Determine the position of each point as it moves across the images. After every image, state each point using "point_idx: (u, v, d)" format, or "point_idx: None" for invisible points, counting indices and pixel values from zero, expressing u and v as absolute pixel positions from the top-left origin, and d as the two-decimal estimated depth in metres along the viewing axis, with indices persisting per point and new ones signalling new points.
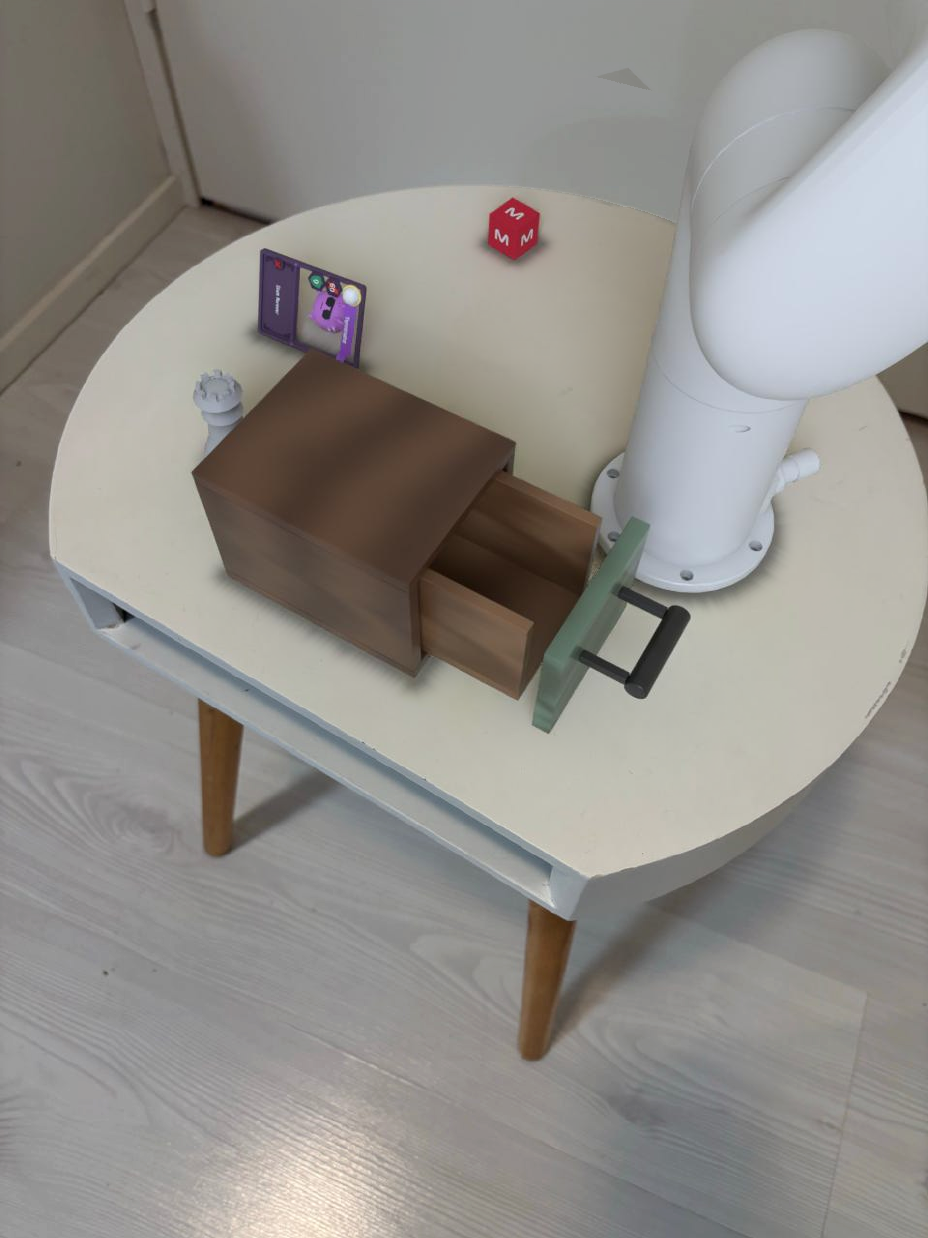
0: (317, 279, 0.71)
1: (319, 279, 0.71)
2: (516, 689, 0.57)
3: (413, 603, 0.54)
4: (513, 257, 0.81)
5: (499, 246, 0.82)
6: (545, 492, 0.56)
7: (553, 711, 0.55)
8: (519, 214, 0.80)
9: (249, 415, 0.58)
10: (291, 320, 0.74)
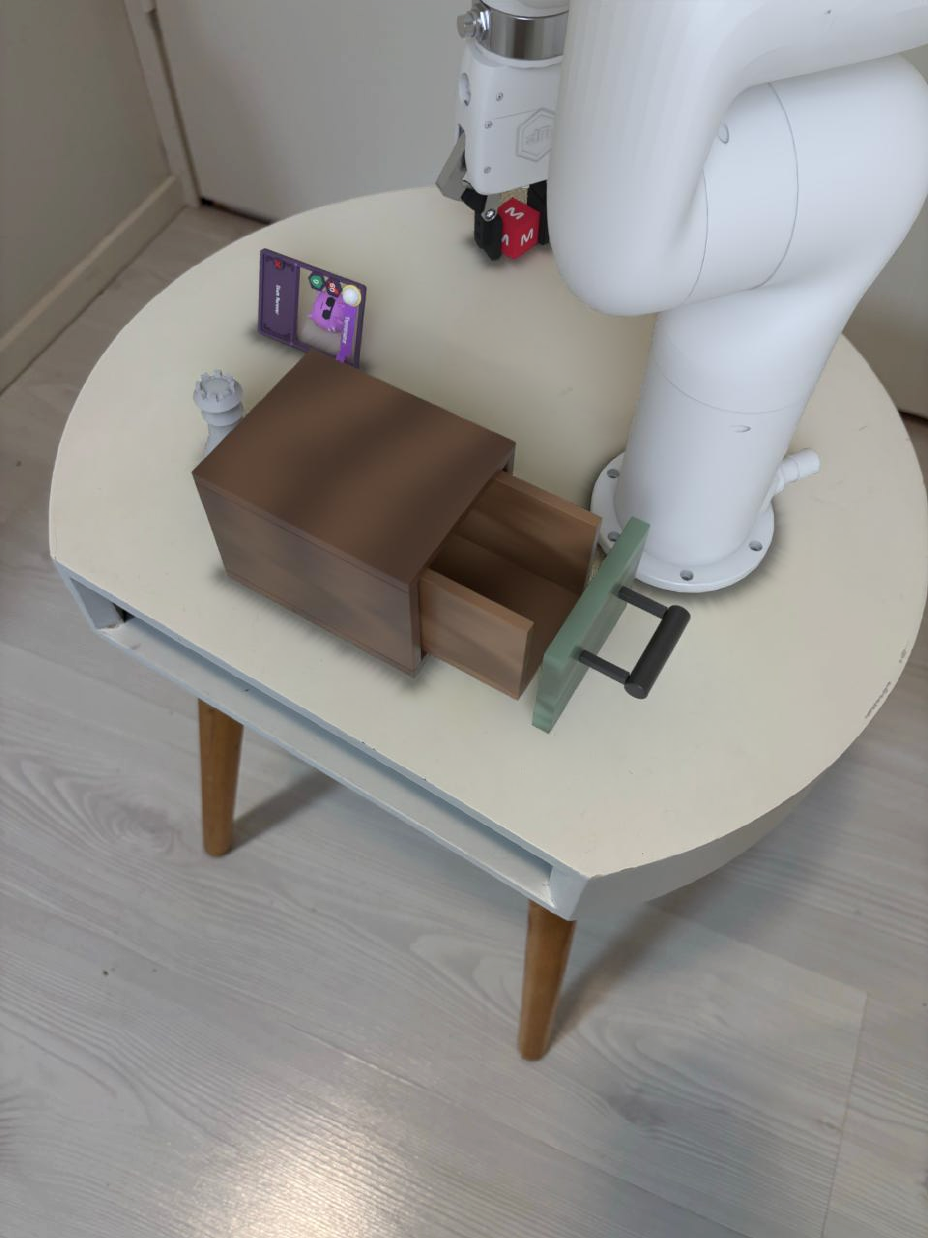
0: (317, 279, 0.71)
1: (319, 279, 0.71)
2: (516, 689, 0.57)
3: (413, 603, 0.54)
4: (513, 257, 0.81)
5: None
6: (545, 492, 0.56)
7: (553, 711, 0.55)
8: (519, 214, 0.80)
9: (249, 415, 0.58)
10: (291, 320, 0.74)
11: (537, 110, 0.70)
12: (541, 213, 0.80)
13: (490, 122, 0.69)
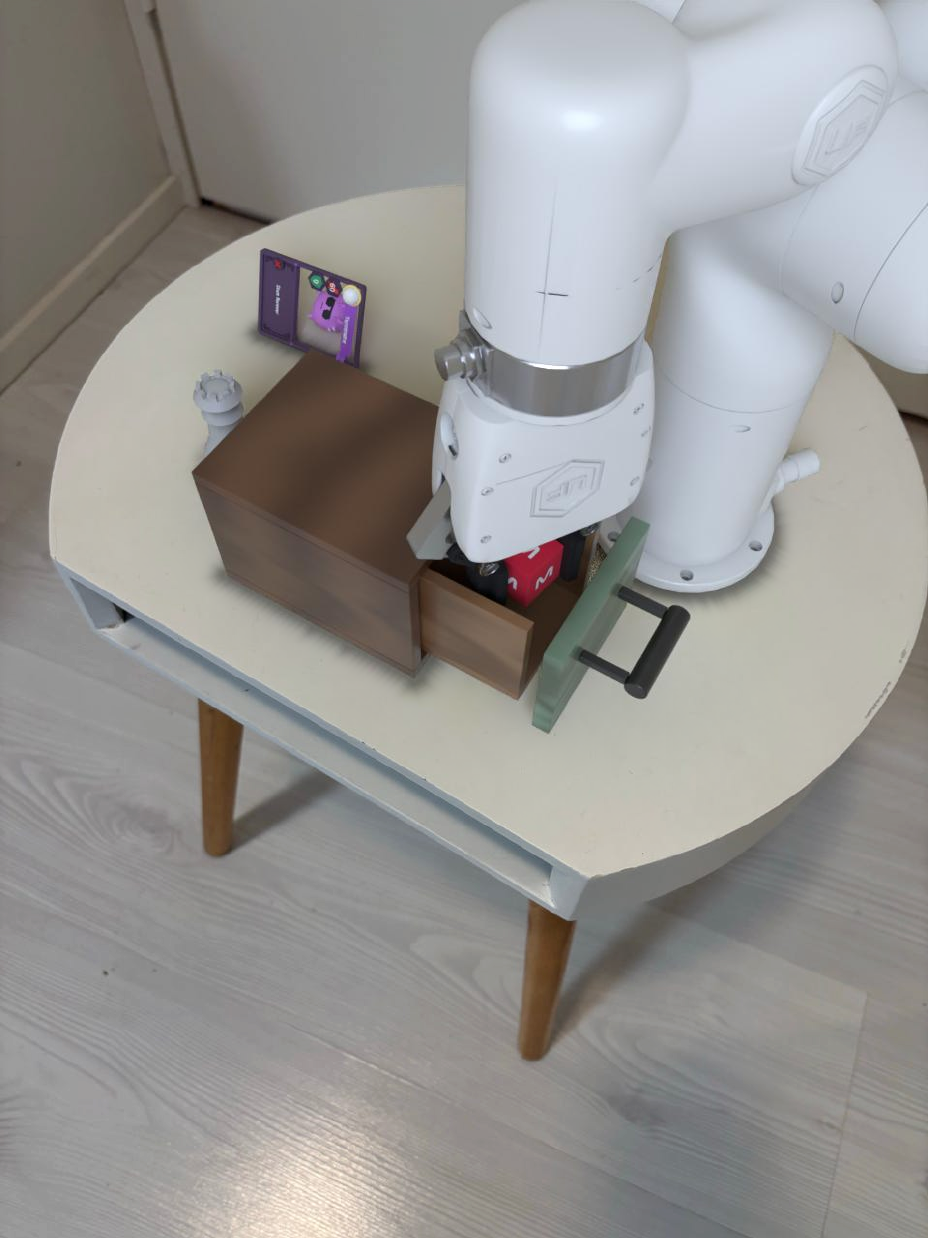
0: (317, 278, 0.71)
1: (319, 279, 0.71)
2: (516, 689, 0.57)
3: (413, 603, 0.54)
4: (524, 604, 0.55)
5: None
6: None
7: (553, 711, 0.55)
8: (533, 549, 0.54)
9: (249, 415, 0.58)
10: (291, 320, 0.74)
11: (565, 464, 0.43)
12: (566, 550, 0.54)
13: (491, 488, 0.43)
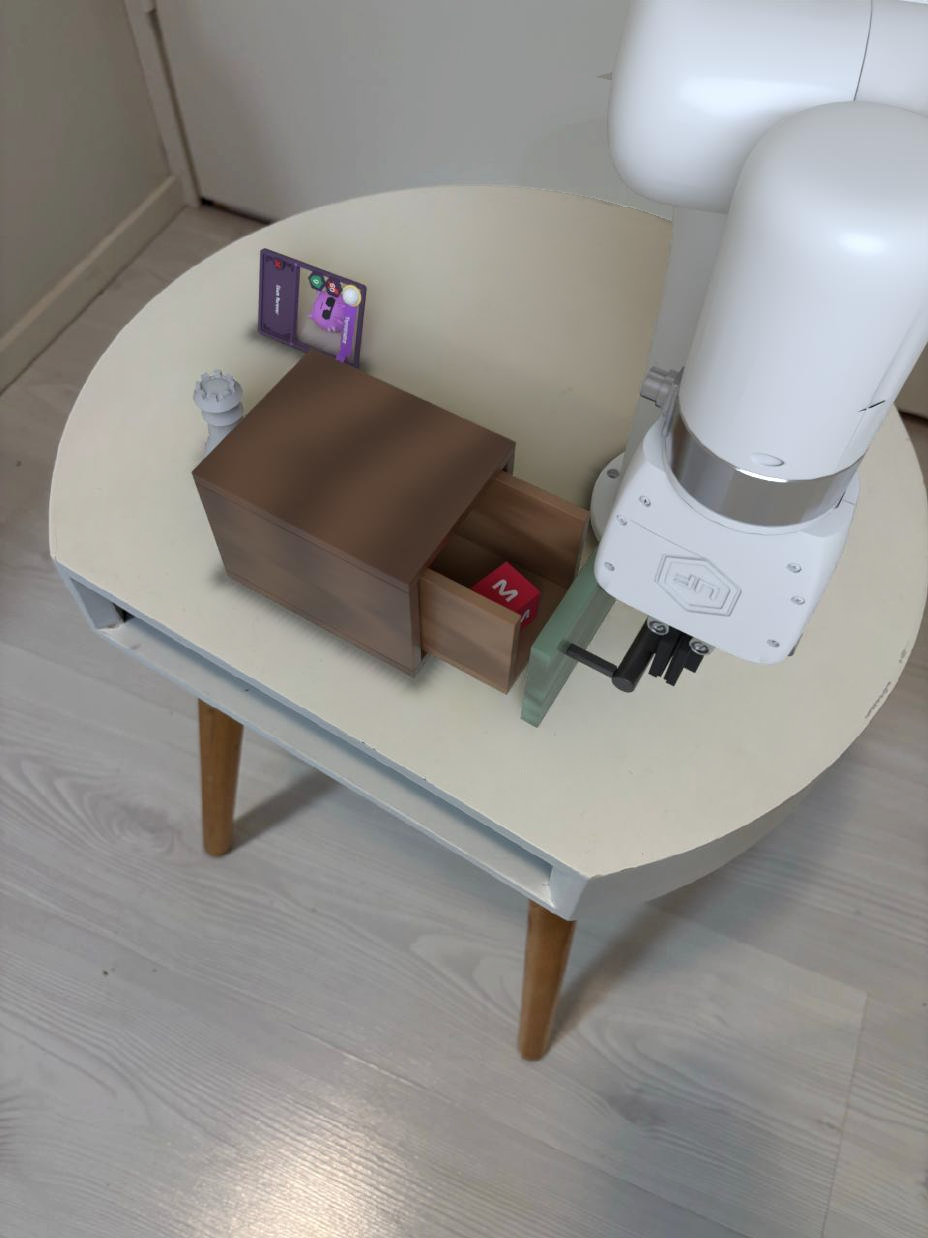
0: (317, 279, 0.71)
1: (319, 279, 0.71)
2: (505, 683, 0.58)
3: (413, 603, 0.54)
4: None
5: None
6: (534, 486, 0.57)
7: (541, 705, 0.55)
8: (511, 592, 0.58)
9: (249, 415, 0.58)
10: (291, 320, 0.74)
11: (699, 557, 0.42)
12: None
13: (626, 520, 0.43)
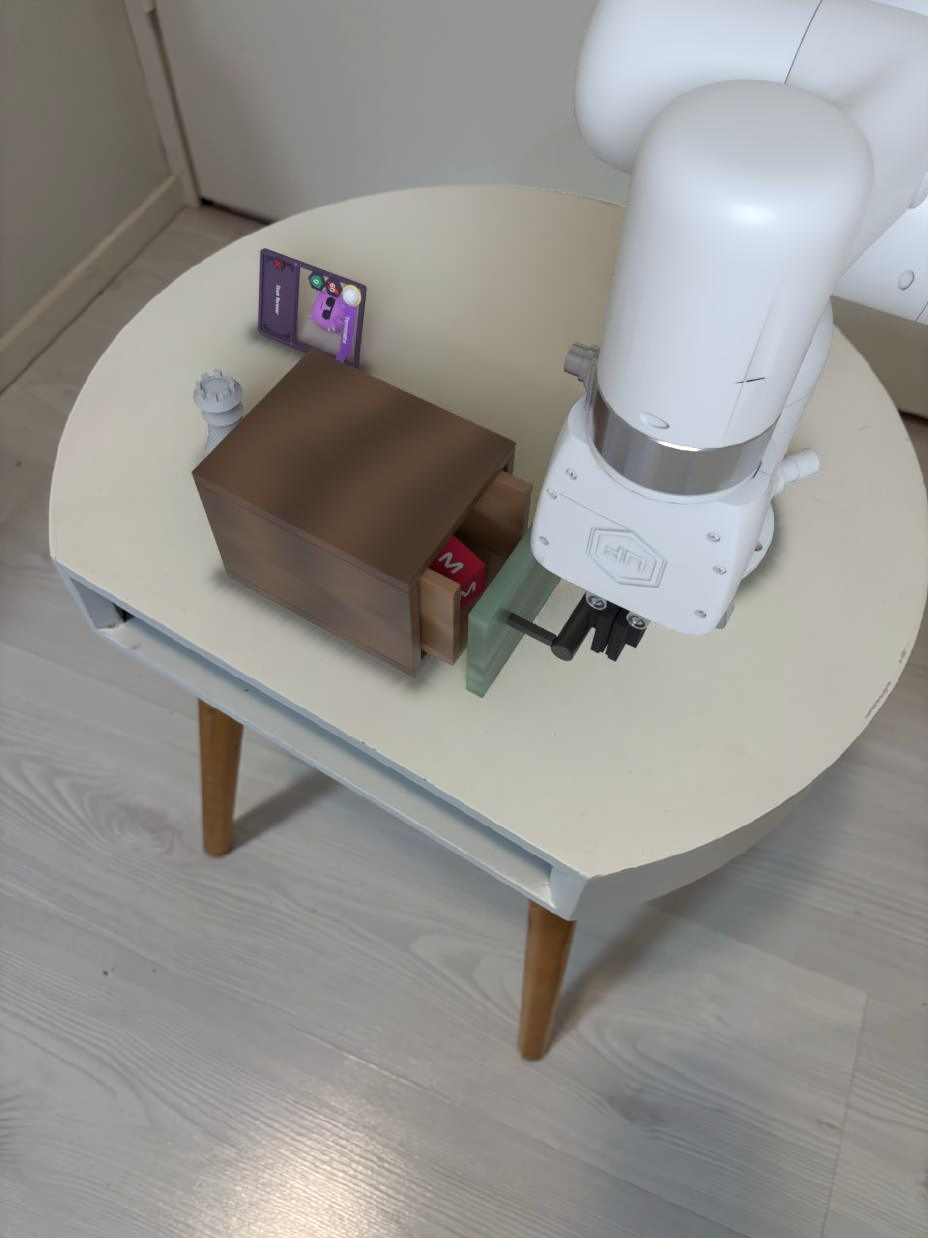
0: (317, 279, 0.71)
1: (319, 279, 0.71)
2: (450, 653, 0.59)
3: (413, 603, 0.54)
4: None
5: None
6: None
7: (483, 674, 0.56)
8: (457, 565, 0.59)
9: (249, 415, 0.58)
10: (291, 320, 0.74)
11: (625, 529, 0.43)
12: None
13: (556, 494, 0.44)
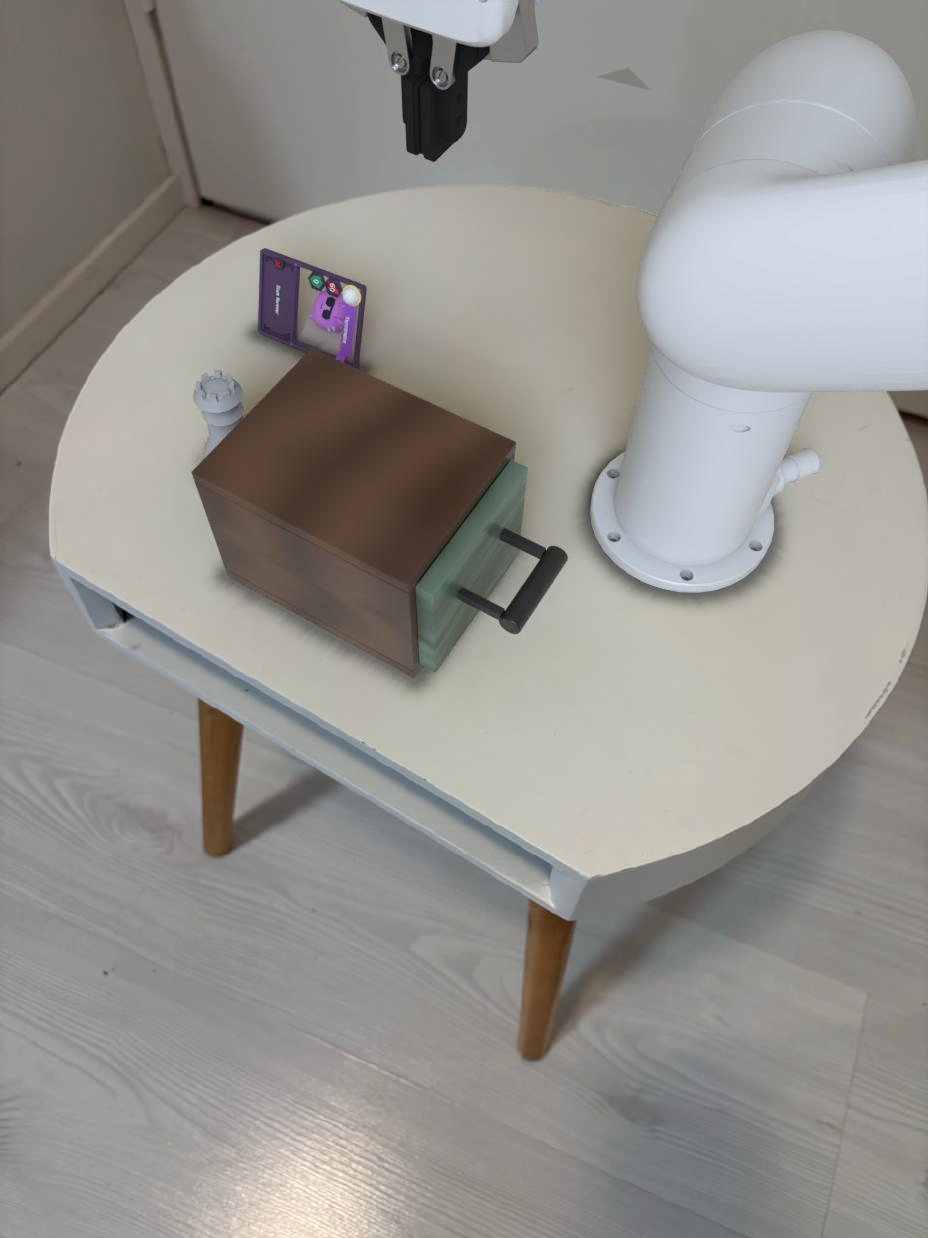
0: (317, 278, 0.71)
1: (319, 279, 0.71)
2: None
3: (413, 603, 0.54)
4: None
5: None
6: None
7: (434, 647, 0.57)
8: None
9: (249, 415, 0.58)
10: (291, 320, 0.74)
11: None
12: None
13: None
